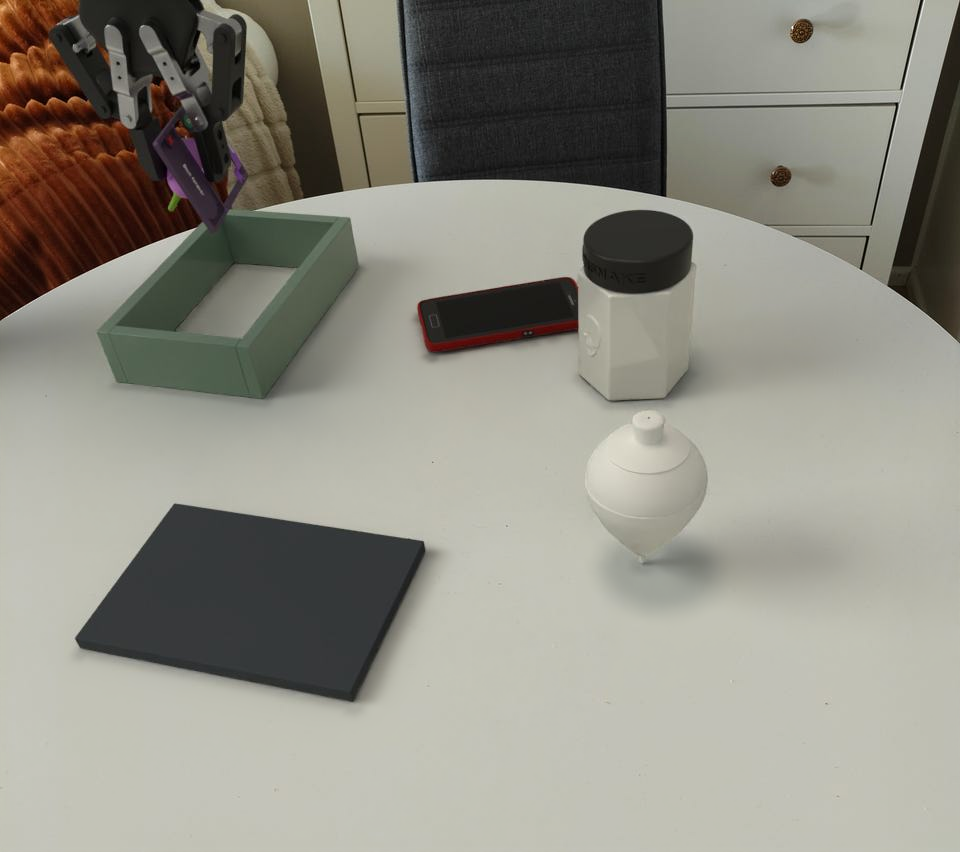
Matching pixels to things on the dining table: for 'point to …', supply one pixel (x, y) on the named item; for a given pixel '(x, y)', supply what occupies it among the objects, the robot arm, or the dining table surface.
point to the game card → (194, 173)
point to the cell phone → (499, 314)
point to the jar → (635, 304)
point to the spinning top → (646, 482)
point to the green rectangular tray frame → (195, 270)
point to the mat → (257, 599)
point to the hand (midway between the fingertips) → (189, 175)
